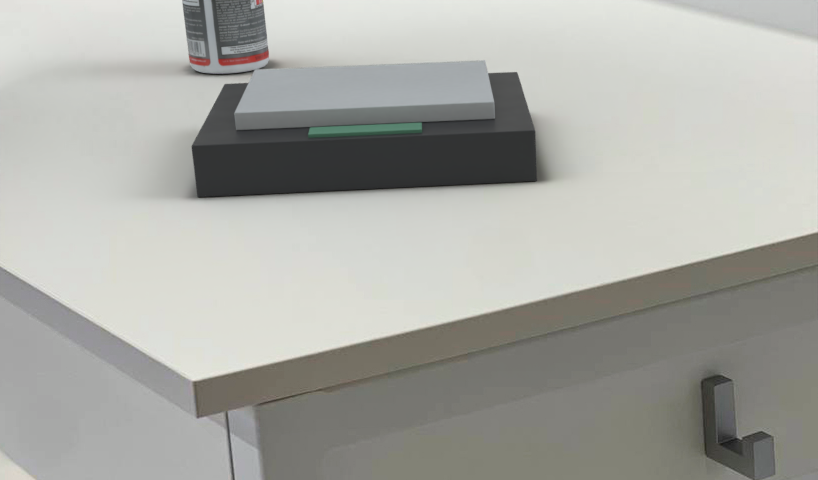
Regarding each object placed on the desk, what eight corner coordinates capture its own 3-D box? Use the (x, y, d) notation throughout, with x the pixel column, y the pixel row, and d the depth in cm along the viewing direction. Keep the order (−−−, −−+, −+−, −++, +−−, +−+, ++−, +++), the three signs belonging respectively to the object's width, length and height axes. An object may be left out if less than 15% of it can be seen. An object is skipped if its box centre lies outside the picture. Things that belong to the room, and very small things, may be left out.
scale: (197, 197, 86) (189, 126, 84) (229, 128, 100) (222, 67, 99) (537, 181, 87) (534, 111, 86) (519, 115, 102) (516, 55, 101)
